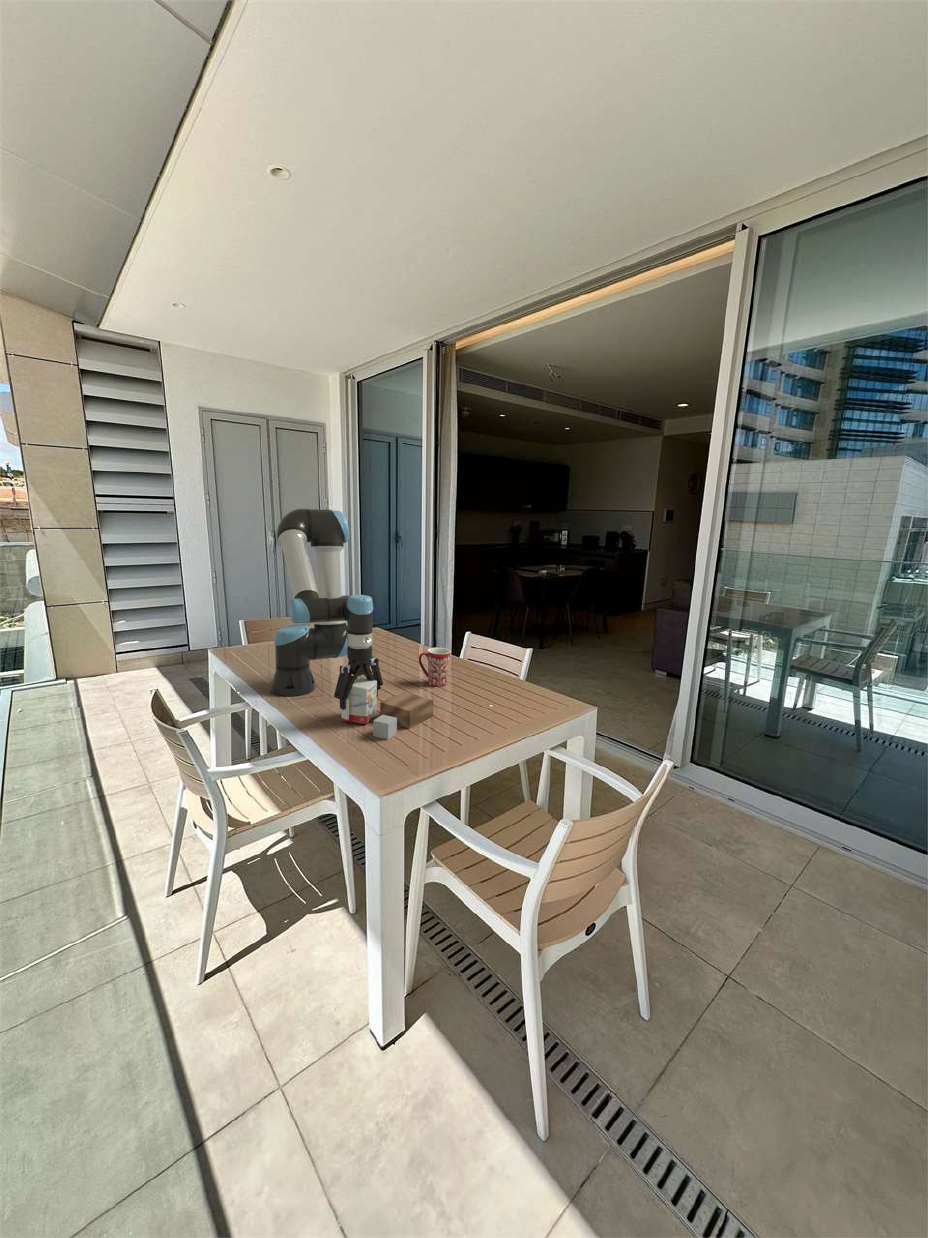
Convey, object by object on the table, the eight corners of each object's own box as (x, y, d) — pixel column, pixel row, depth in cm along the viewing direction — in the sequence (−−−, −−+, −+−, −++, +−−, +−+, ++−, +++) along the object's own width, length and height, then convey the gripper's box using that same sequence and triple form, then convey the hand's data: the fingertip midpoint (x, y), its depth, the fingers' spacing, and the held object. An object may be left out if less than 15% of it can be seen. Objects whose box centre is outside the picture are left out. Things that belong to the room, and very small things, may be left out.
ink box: (366, 724, 153) (366, 688, 151) (340, 721, 155) (340, 685, 152) (377, 714, 162) (377, 679, 159) (352, 710, 163) (352, 676, 161)
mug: (452, 682, 197) (454, 649, 195) (444, 689, 189) (445, 654, 186) (423, 677, 202) (424, 645, 199) (413, 684, 193) (414, 650, 190)
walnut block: (380, 720, 159) (380, 702, 158) (404, 708, 169) (404, 692, 168) (409, 729, 153) (410, 711, 152) (432, 717, 163) (433, 700, 161)
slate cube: (373, 736, 146) (373, 720, 145) (382, 730, 151) (382, 714, 150) (388, 740, 145) (388, 723, 144) (396, 733, 149) (396, 717, 148)
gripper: (337, 655, 142) (337, 727, 147) (395, 641, 160) (393, 706, 165) (320, 650, 146) (321, 720, 151) (379, 637, 164) (378, 700, 169)
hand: (359, 713), depth 158 cm, fingers closed on ink box, 11 cm apart
